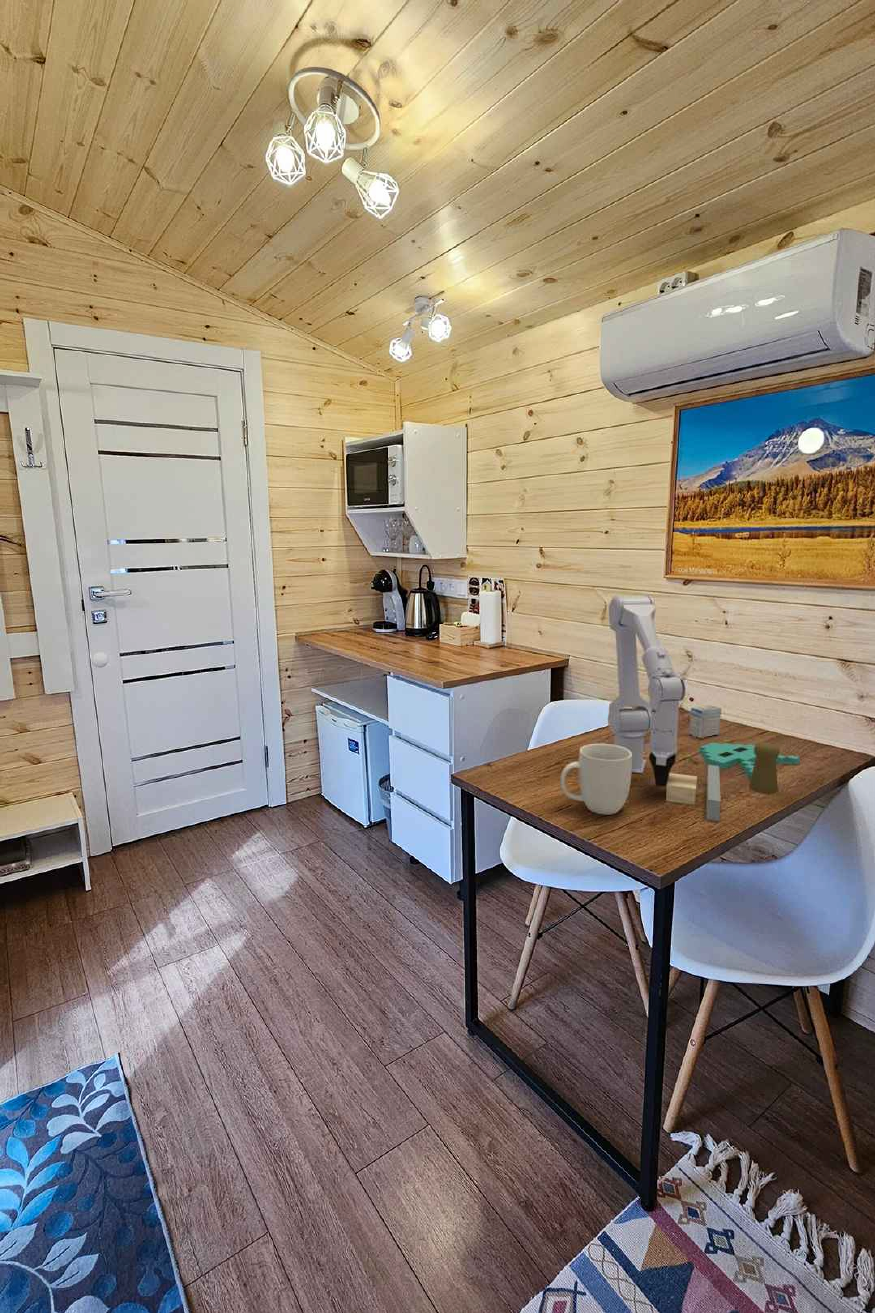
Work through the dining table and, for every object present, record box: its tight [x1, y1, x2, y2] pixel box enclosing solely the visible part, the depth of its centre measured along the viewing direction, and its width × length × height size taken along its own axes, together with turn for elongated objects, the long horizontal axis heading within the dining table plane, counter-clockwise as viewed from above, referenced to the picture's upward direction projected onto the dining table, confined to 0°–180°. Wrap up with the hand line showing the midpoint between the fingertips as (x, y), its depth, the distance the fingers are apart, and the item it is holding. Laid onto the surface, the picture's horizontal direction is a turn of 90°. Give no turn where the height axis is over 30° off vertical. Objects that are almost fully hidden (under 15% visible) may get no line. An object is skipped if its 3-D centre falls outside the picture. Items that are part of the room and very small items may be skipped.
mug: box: [560, 743, 632, 816], centre depth 134 cm, size 15×11×13 cm
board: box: [706, 765, 722, 822], centre depth 139 cm, size 22×2×4 cm, turn 157°
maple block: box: [665, 772, 698, 806], centre depth 141 cm, size 8×6×4 cm
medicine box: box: [688, 704, 722, 737], centre depth 185 cm, size 8×4×9 cm, turn 115°
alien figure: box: [698, 742, 801, 780], centre depth 164 cm, size 20×2×20 cm
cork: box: [748, 741, 780, 795], centre depth 145 cm, size 6×6×11 cm
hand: (660, 785), depth 143 cm, fingers closed
